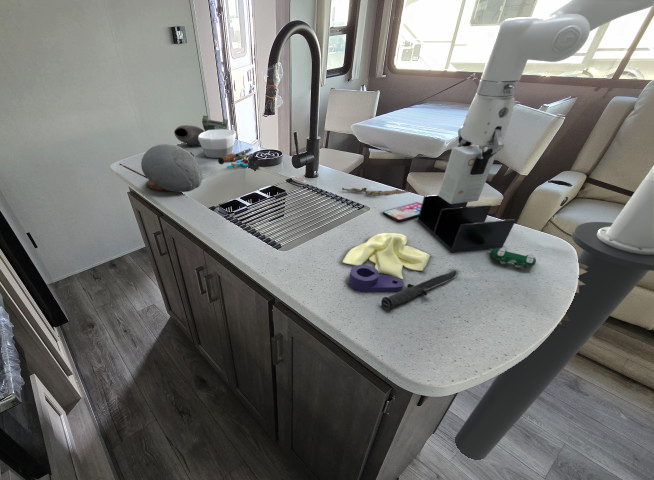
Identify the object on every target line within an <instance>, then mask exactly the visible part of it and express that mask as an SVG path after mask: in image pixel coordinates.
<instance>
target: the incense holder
mask: <svg viewBox="0 0 654 480" xmlns="http://www.w3.org/2000/svg"><path fill="white" fill-rule="evenodd" d="M119 166H122V167H123V168H125V169H127V170H129V171H131V172H133V173H135V174H137V175H139V176H141V177H143V178H145V179H147V186H148V187H149V188H150V189H152V190H155V191H163V192H170V190H167V189H164V188H162V187H160V186H158V185H156V184H154V183H153V182H151V181H150V180H149V179H148V178H147V177H146V176H145V175H144V174H142V173H140V172H138V171H136V170H134V169H132V168H130V167H129V166H126V165H123V164H122V163H119Z"/></svg>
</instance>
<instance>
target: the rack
mask: <svg viewBox="0 0 654 480" xmlns="http://www.w3.org/2000/svg"><path fill="white" fill-rule="evenodd" d="M422 199H423V200H422V203H421V204H422V206H421V209H420V213H419V216H417V220H416V222H417V223H418V224H419V225H420V226H422V227H423V229H425V231H427V232H428V233H429V234H430V235H431V236H432V237H433V238H434V239H435V240H436V241H438V242H439V243H440V244H441V245H442V246H443V247H444V248H445V249H446V250H447V251H448V252H449V253H451V254H456V253H458V254H459V253H466V252H475V251H486V250H492V249H494V248H498V249H501V248H502V247H504V245H505V244H506V241H507V239H508V237H509V236H510V233H511V231H512V230H513V227H514V225H515V223H516V221H517V219H514V218H510V219H501V220H492V221H486V220H487V217H488V215H489V213H490V210H491V208H492V206H493V205H492V204H491V203H489V204H488V203H487V204H480V205H479V204H478V205H470V206H469V205H468V203H469V202H464V203H456V204H450V203H449V202H447V201H446V200H444V199H443V198H441V197H440V196H439V195H438V194H431V195H424V196H423V198H422Z"/></svg>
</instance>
